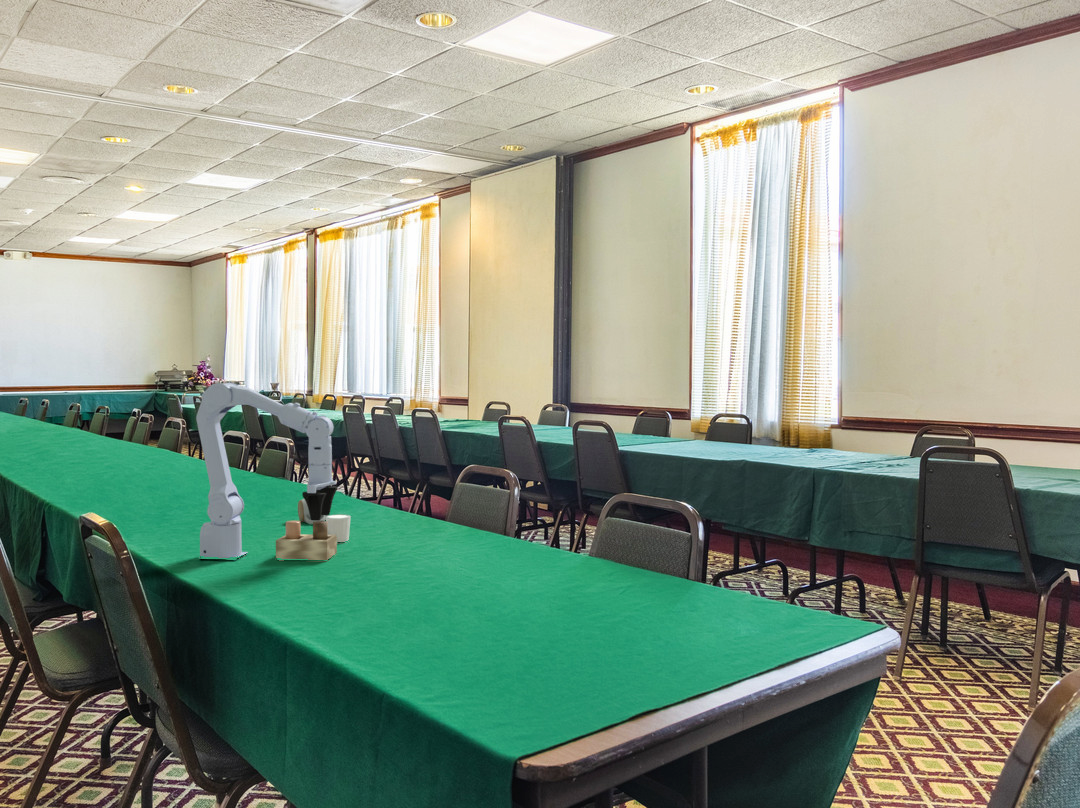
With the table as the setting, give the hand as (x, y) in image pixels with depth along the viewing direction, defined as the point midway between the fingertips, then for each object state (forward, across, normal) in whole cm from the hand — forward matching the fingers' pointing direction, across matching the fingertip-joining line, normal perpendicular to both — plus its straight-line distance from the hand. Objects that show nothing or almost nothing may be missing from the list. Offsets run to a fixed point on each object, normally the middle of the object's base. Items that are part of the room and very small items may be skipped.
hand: (320, 517), depth 215 cm
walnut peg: (+6, 0, 0) cm, 6 cm away
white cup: (+10, +20, +1) cm, 22 cm away
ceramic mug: (+10, +48, +17) cm, 52 cm away
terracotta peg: (+6, 0, +7) cm, 9 cm away
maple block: (+10, 0, +4) cm, 11 cm away
